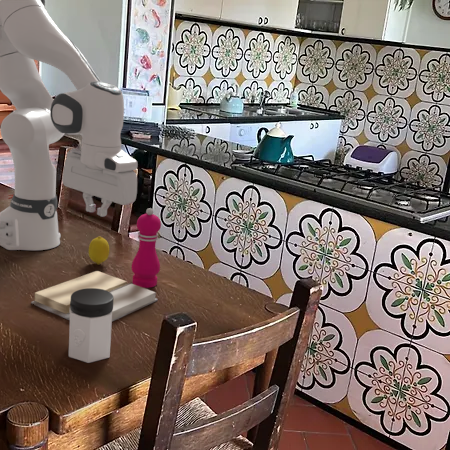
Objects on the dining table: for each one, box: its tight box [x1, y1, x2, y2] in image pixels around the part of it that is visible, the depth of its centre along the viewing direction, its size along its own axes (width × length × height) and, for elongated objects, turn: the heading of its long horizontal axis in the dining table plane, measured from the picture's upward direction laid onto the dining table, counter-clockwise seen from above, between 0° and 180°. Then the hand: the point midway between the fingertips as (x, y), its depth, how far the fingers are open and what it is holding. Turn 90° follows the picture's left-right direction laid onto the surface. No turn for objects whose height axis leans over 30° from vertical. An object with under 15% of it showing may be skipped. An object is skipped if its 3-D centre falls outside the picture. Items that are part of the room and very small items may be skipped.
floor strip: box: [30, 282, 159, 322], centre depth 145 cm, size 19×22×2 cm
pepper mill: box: [130, 207, 162, 289], centre depth 156 cm, size 7×7×20 cm
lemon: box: [88, 235, 110, 265], centre depth 167 cm, size 6×6×8 cm
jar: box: [68, 288, 114, 364], centre depth 121 cm, size 9×8×12 cm
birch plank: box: [34, 270, 128, 314], centre depth 147 cm, size 10×20×2 cm, turn 148°
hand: (96, 213), depth 146 cm, fingers open, 2 cm apart
